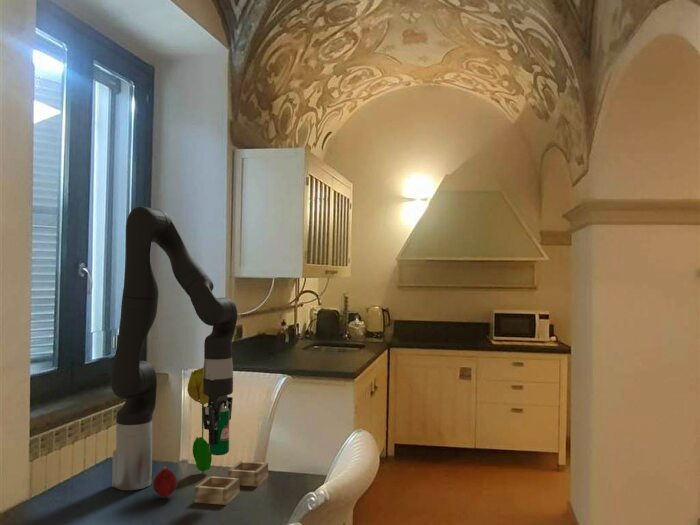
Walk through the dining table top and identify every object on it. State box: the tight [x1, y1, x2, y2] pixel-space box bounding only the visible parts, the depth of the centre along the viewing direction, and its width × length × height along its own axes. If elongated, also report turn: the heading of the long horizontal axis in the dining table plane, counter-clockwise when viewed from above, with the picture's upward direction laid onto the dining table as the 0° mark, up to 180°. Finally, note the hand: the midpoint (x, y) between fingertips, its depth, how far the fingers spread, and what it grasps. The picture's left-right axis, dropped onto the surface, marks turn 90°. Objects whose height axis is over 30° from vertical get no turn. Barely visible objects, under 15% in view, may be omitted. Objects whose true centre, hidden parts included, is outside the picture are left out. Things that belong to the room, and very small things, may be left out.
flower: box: [187, 367, 213, 474], centre depth 176 cm, size 9×8×30 cm
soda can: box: [209, 405, 230, 456], centre depth 157 cm, size 5×5×12 cm
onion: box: [152, 465, 178, 499], centre depth 156 cm, size 6×6×8 cm
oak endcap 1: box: [194, 475, 241, 506], centre depth 157 cm, size 8×8×4 cm
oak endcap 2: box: [227, 460, 269, 487], centre depth 170 cm, size 8×8×4 cm
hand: (217, 441), depth 157 cm, fingers closed on soda can, 5 cm apart
